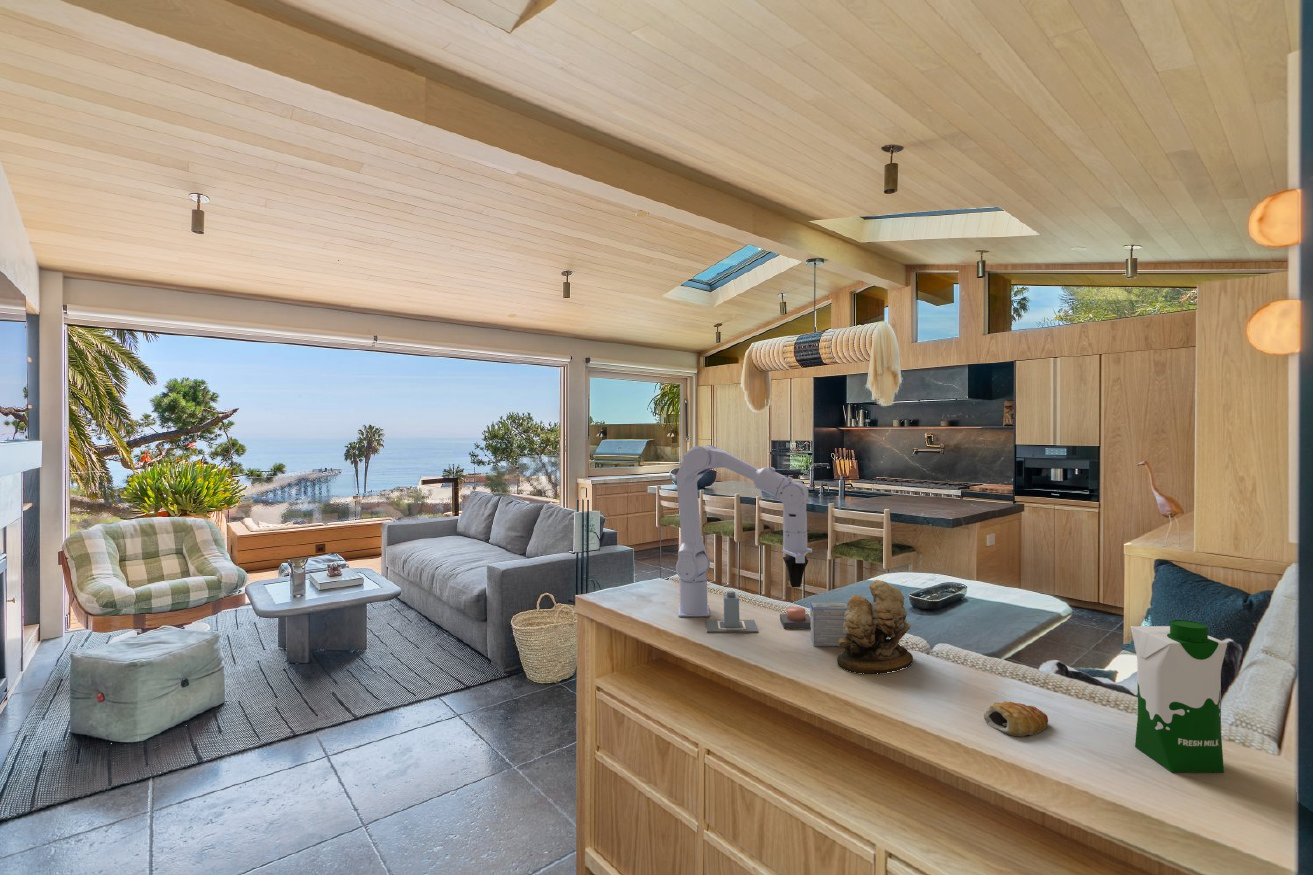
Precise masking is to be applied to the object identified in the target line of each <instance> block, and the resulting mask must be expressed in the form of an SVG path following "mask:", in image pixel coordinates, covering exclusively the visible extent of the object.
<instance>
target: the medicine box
mask: <svg viewBox="0 0 1313 875" xmlns="http://www.w3.org/2000/svg"><path fill="white" fill-rule="evenodd" d="M846 608H847V604H846V603H845V602H810V605H809V609H810V612H809V613H810V614H809V616H810V620H811V629H810V641H811V643H812V645H813V647H840V646H839V645H838V641H839V638H844V637H846V635H845V634H844V633H843V623H844V614H845V612H846V611H847V610H846Z"/></svg>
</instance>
